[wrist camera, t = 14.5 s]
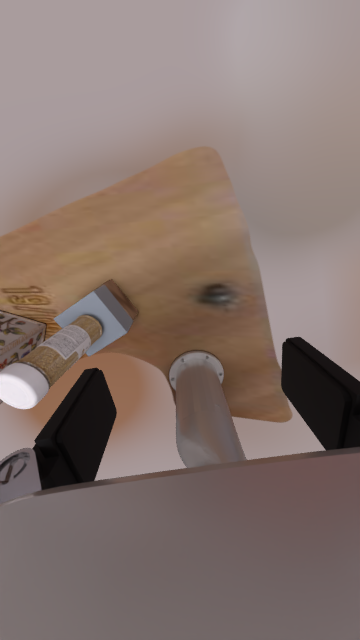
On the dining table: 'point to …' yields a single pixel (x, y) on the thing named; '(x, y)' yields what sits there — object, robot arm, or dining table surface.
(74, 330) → the sprinkles bottle
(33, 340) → the decorative jar
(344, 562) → the robot arm
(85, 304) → the slate top block
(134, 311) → the walnut base block
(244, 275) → the dining table surface
